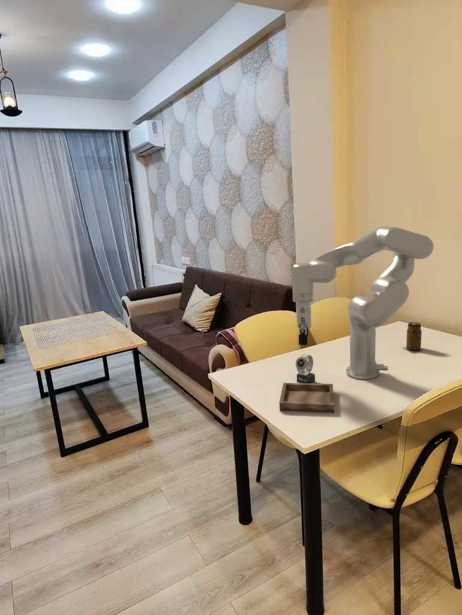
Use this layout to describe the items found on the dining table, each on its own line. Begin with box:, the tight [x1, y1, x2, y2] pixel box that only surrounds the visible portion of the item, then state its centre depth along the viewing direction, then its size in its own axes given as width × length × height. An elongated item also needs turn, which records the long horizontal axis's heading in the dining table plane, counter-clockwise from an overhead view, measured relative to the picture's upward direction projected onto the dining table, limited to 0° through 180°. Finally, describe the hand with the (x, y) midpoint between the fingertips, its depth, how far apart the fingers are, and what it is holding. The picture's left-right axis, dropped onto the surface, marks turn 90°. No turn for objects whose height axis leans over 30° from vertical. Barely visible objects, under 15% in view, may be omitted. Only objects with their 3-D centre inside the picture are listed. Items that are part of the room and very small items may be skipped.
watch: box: [295, 353, 316, 384], centre depth 159 cm, size 6×8×11 cm
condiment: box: [401, 321, 428, 354], centre depth 183 cm, size 7×8×12 cm
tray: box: [278, 382, 335, 414], centre depth 144 cm, size 18×16×3 cm
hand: (303, 340), depth 156 cm, fingers open, 9 cm apart
